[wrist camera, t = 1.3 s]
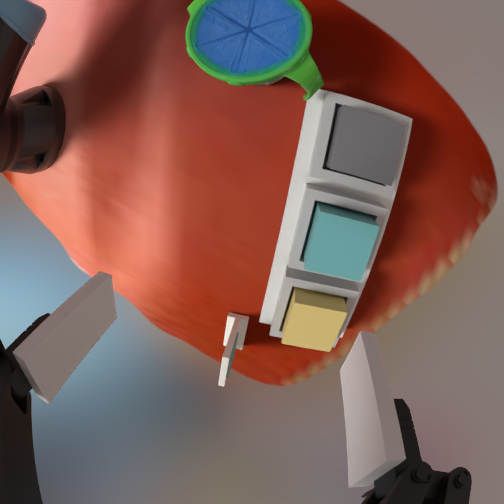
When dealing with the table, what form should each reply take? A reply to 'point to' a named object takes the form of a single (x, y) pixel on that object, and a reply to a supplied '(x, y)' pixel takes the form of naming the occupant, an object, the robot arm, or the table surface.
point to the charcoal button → (365, 145)
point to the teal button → (339, 242)
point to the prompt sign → (232, 342)
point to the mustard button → (313, 319)
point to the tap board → (329, 192)
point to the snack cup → (253, 42)
